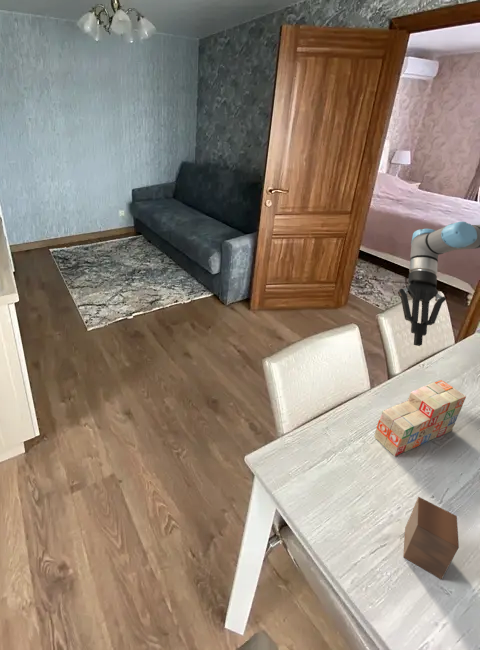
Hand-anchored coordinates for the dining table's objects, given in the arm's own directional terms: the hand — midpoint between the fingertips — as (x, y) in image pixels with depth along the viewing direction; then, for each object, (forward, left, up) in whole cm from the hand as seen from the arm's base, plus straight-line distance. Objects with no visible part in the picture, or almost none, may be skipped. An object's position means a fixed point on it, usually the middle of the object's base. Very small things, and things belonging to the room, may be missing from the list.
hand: (417, 344), depth 106 cm
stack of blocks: (-2, +24, -13) cm, 27 cm away
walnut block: (-5, +54, -12) cm, 55 cm away
